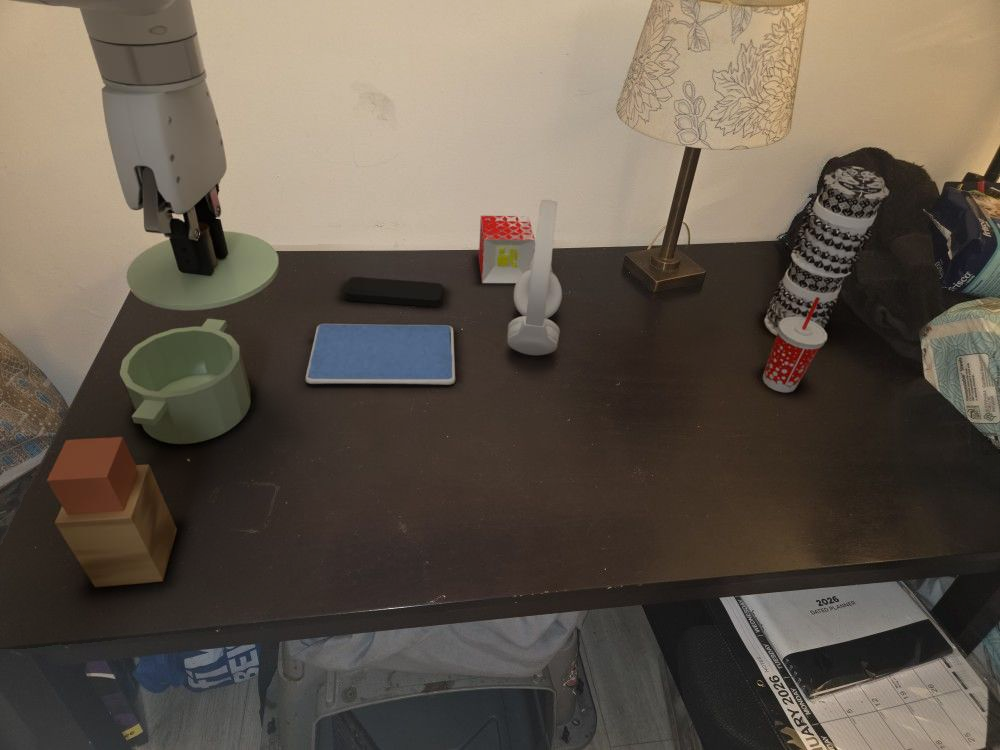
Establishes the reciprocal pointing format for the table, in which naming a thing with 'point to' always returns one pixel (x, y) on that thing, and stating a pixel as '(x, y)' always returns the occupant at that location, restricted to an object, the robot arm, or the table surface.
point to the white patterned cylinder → (828, 245)
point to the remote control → (394, 291)
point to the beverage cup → (793, 351)
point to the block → (93, 475)
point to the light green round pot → (187, 383)
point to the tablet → (382, 354)
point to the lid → (228, 284)
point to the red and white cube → (505, 248)
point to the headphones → (538, 293)
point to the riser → (124, 537)
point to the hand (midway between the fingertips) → (204, 262)
